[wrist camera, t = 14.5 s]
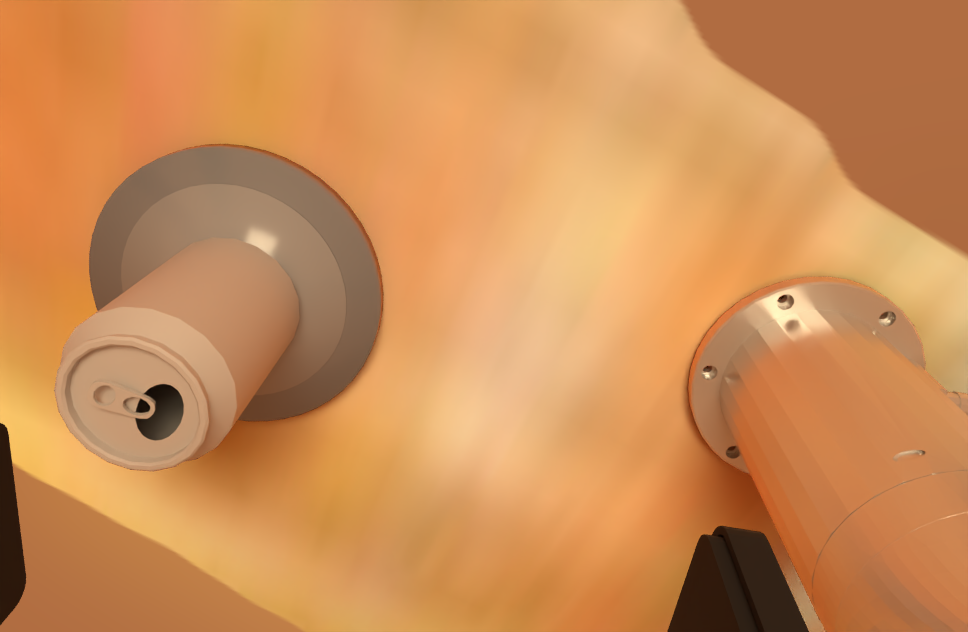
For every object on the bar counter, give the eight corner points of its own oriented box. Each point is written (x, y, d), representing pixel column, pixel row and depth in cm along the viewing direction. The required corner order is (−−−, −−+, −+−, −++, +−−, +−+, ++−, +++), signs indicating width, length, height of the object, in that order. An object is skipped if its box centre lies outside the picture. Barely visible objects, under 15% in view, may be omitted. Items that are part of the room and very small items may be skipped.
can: (272, 381, 42) (183, 515, 31) (149, 319, 41) (12, 436, 30) (326, 275, 40) (250, 382, 29) (197, 206, 38) (65, 289, 27)
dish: (397, 171, 38) (393, 176, 37) (369, 430, 45) (365, 441, 44) (92, 120, 38) (79, 124, 37) (107, 387, 45) (96, 398, 43)
